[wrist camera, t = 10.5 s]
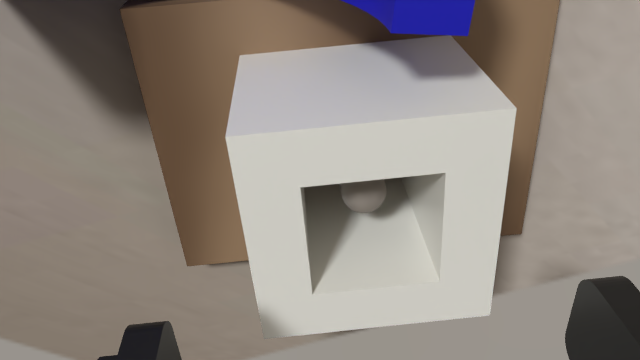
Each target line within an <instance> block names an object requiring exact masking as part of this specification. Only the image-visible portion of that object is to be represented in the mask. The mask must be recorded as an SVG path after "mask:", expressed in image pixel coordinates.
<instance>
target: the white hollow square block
mask: <svg viewBox="0 0 640 360" xmlns="http://www.w3.org/2000/svg"><path fill="white" fill-rule="evenodd" d="M516 109H517V108H516V107H515V106H514V105H513V104H512V102H511V101H510V100H509V99H508V98H507V97H506V96H505V95H504V94H503V93H502V91H501V90H500V89H499V88H498V87H497V86H496V85H495V84H494V83H493V81H492V80H491V79H490V78H489V77H488V76H487V75H486V74H485V73H484V72H483V70H482V69H481V68H480V67H479V66H478V65H477V64H476V63H475V62H474V60H473V59H472V58H471V57H470V56H469V55H468V54H467V53H466V52H465V51H464V49H463V48H462V47H461V46H460V45H459V44H458V43H457V42H456V41H455V39H454V38H453V37H452V36H451V35H445V36H435V37H425V38H414V39H404V40H394V41H383V42H373V43H362V44H352V45H342V46H331V47H321V48H311V49H300V50H290V51H279V52H269V53H259V54H248V55H240V57H239V62H238V68H237V74H236V79H235V85H234V91H233V96H232V102H231V108H230V113H229V119H228V125H227V130H226V136H225V138H226V143H227V148H228V154H229V159H230V164H231V169H232V175H233V180H234V185H235V190H236V195H237V201H238V206H239V211H240V216H241V222H242V227H243V232H244V237H245V243H246V248H247V253H248V258H249V263H250V269H251V274H252V279H253V284H254V290H255V295H256V300H257V305H258V311H259V316H260V321H261V326H262V331H263V337H264V339H270V338H279V337H289V336H298V335H308V334H317V333H327V332H336V331H346V330H355V329H365V328H374V327H384V326H393V325H403V324H412V323H421V322H431V321H441V320H450V319H459V318H469V317H479V316H488V315H490V310H491V302H492V295H493V287H494V279H495V272H496V264H497V256H498V248H499V241H500V233H501V225H502V217H503V210H504V202H505V194H506V187H507V179H508V171H509V163H510V156H511V148H512V140H513V132H514V125H515V117H516ZM380 179H384V182H385V185H386V196H385V199H384V201H383V203H382V204H381V206H380V207H379V208H377V209H376V210H374V211H372V212H369V213H358V212H355V211H353V210H351V209H350V208H349V207H348V206H347V205H346V204H345V203H344V201H343V199H342V196H341V190H340V185H339V184H340V183H350V182H360V181H370V180H380Z"/></svg>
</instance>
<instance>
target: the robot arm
mask: <svg viewBox="0 0 640 360" xmlns="http://www.w3.org/2000/svg"><path fill="white" fill-rule="evenodd" d="M565 343H566V349H567V353H568V356H569V359H570V360H640V292H639V290H638V289H637V288H636V287H635V286H634V284H633V283H632V282H631V281H630V280H629V279H628V278H626V277H623V276H616V277H606V278H597V279H587V280H582V281H581V282H580V284H579V285H578V288H577V292H576V295H575V299H574V303H573V307H572V310H571V315H570V318H569V322H568V326H567V329H566V334H565ZM98 360H182V359H181V356H180V352H179V349H178V346H177V342H176V339H175V335H174V332H173V328H172V326H171V323H170V322H169V321H164V322H154V323H144V324H134V325H129V326H127V328H126V330H125V332H124V335H123V338H122V342H121V345H120V348H119V352H118V355H113V356H104V357H99V359H98Z"/></svg>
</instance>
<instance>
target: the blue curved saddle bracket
mask: <svg viewBox="0 0 640 360" xmlns="http://www.w3.org/2000/svg"><path fill="white" fill-rule="evenodd" d="M341 1H344V2H346V3H349V4H351V5H353V6H356V7H358V8H360V9H362V10H364V11H366V12H367V13H369V14H371V15H372V16H374V17H375V18H377V19H378V20H379V21H380V22H381V23H382V24H384V25H385V26H386V28H387V29H388V30H389V31H390V33H398V34H426V35H455V36H468V33H469V28H470V23H471V18H472V13H473V8H474V3H475V0H341Z"/></svg>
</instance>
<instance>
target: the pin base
mask: <svg viewBox="0 0 640 360" xmlns="http://www.w3.org/2000/svg"><path fill="white" fill-rule="evenodd" d="M559 2H560V0H475V3H474V8H473V13H472V18H471V23H470V28H469V33H468V36H455V35H451V36H452V37H453V38H454V39H455V41H456V42H457V43H458V44H459V45H460V46H461V47H462V48H463V49H464V51H465V52H466V53H467V54H468V55H469V56H470V57H471V58H472V59H473V60H474V62H475V63H476V64H477V65H478V66H479V67H480V68H481V69H482V70H483V72H484V73H485V74H486V75H487V76H488V77H489V78H490V79H491V80H492V81H493V83H494V84H495V85H496V86H497V87H498V88H499V89H500V90H501V91H502V93H503V94H504V95H505V96H506V97H507V98H508V99H509V100H510V101H511V102H512V104H513V105H514V106H515V107H516V108H517V109H516V117H515V125H514V132H513V140H512V148H511V156H510V163H509V171H508V179H507V187H506V194H505V202H504V210H503V217H502V225H501V233H500V236H503V235H514V234H521V233H522V227H523V221H524V215H525V209H526V203H527V197H528V191H529V185H530V179H531V172H532V166H533V160H534V154H535V148H536V142H537V136H538V130H539V124H540V118H541V112H542V105H543V99H544V93H545V87H546V81H547V75H548V69H549V63H550V57H551V51H552V45H553V39H554V32H555V26H556V20H557V14H558V8H559ZM120 13H121V17H122V20H123V24H124V28H125V32H126V36H127V39H128V43H129V47H130V51H131V55H132V58H133V62H134V66H135V70H136V74H137V77H138V81H139V85H140V89H141V93H142V96H143V100H144V104H145V108H146V112H147V115H148V119H149V123H150V127H151V131H152V134H153V138H154V142H155V146H156V150H157V153H158V157H159V161H160V165H161V168H162V172H163V176H164V180H165V184H166V187H167V191H168V195H169V199H170V203H171V206H172V210H173V214H174V218H175V222H176V225H177V229H178V233H179V237H180V241H181V244H182V248H183V252H184V256H185V260H186V263H187V266H195V265H205V264H216V263H226V262H236V261H247V260H249V258H248V253H247V248H246V243H245V237H244V232H243V227H242V222H241V216H240V211H239V206H238V201H237V195H236V190H235V185H234V180H233V175H232V169H231V164H230V159H229V154H228V148H227V143H226V138H225V136H226V130H227V125H228V119H229V113H230V108H231V102H232V96H233V91H234V85H235V79H236V74H237V68H238V62H239V57H240V55H248V54H259V53H269V52H279V51H290V50H300V49H311V48H321V47H331V46H342V45H352V44H362V43H373V42H383V41H394V40H404V39H414V38H425V37H435V36H445V35H426V34H398V33H390V31H389V30H388V29H387V28H386V26H385V25H384V24H382V23H381V22H380V21H379V20H378V19H377V18H375V17H374V16H372V15H371V14H369V13H367V12H366V11H364V10H362V9H360V8H358V7H356V6H353V5H351V4H349V3H346V2H344V1H341V0H128V1H127V2H126V3H125V4H124V5H123V6H122V7H121V8H120ZM339 185H340V190H341V196H342V199H343V201H344V203H345V204H346V205H347V206H348V207H349V208H350V209H351V210H353V211H355V212H358V213H369V212H372V211H374V210H376V209H377V208H379V207H380V206H381V204H382V203H383V201H384V199H385V196H386V185H385V182H384V179H380V180H370V181H360V182H350V183H340V184H339Z"/></svg>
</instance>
